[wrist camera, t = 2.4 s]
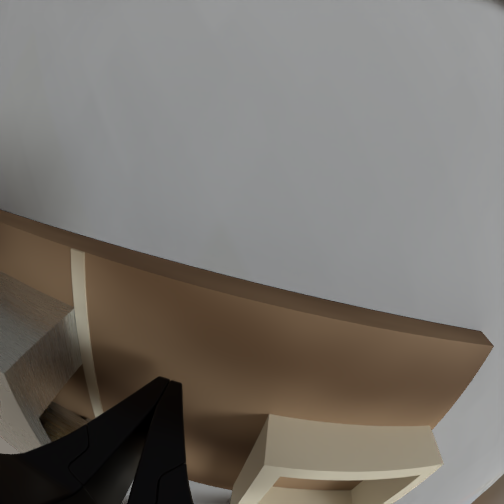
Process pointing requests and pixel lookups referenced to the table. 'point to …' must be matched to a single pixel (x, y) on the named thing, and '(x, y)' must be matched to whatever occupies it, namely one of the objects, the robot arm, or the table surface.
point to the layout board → (235, 348)
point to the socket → (336, 462)
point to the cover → (35, 365)
